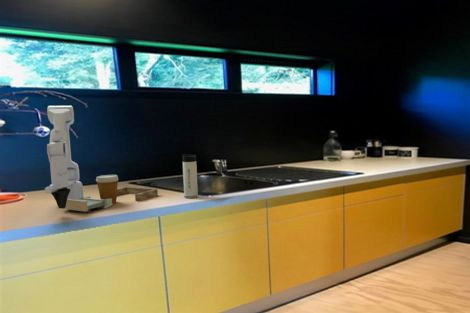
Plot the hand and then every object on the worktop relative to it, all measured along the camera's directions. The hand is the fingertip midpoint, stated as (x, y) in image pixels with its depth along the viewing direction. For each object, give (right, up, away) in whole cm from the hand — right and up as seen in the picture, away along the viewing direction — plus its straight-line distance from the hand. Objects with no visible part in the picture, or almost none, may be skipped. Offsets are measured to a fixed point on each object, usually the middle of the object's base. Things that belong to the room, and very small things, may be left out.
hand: (62, 208), depth 137 cm
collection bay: (+17, +1, +32) cm, 36 cm away
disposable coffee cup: (+11, -1, +20) cm, 23 cm away
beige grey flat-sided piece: (+6, -2, +10) cm, 12 cm away
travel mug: (+46, +1, +28) cm, 54 cm away
